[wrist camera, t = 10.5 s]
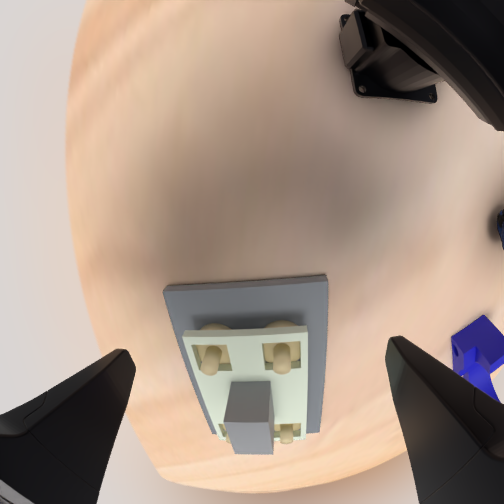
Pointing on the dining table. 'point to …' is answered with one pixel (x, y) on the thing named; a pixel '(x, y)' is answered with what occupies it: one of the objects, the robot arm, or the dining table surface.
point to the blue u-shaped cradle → (478, 353)
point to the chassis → (254, 317)
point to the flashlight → (501, 226)
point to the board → (253, 370)
